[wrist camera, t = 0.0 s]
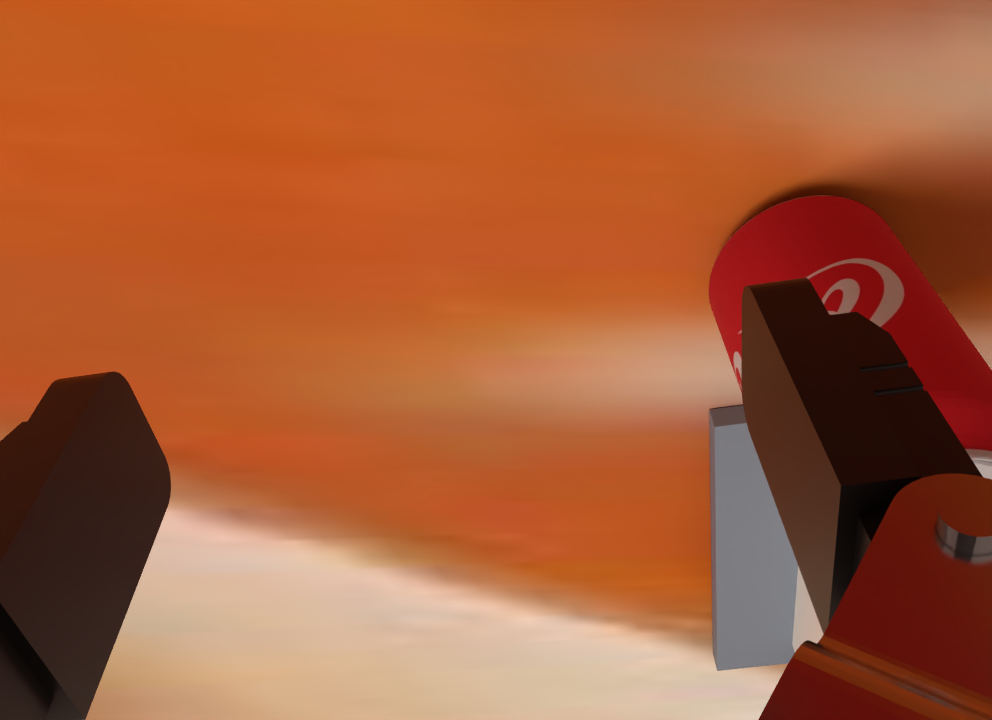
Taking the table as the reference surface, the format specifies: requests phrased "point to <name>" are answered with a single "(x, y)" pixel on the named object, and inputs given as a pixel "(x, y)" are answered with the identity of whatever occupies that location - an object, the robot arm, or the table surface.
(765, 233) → the beverage can
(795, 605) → the butter dish
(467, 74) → the table surface
